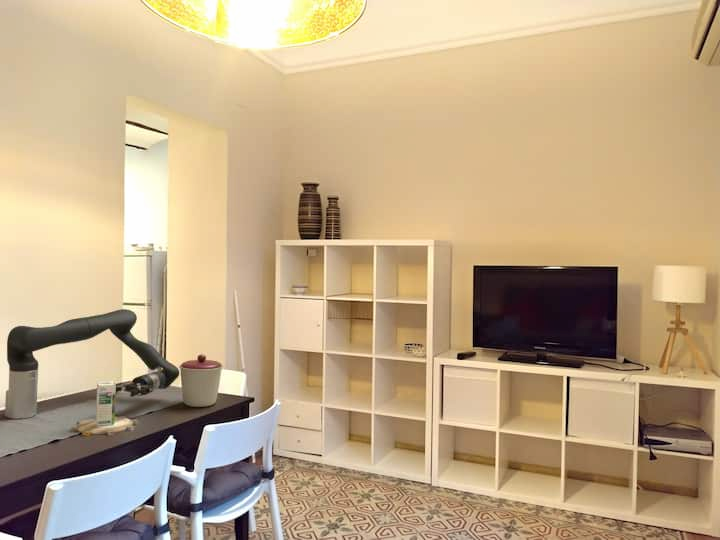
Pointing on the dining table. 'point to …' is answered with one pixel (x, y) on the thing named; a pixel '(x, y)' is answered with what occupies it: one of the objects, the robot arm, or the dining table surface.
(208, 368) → the canister
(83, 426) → the sprocket
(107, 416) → the syrup box
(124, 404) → the dining table surface
